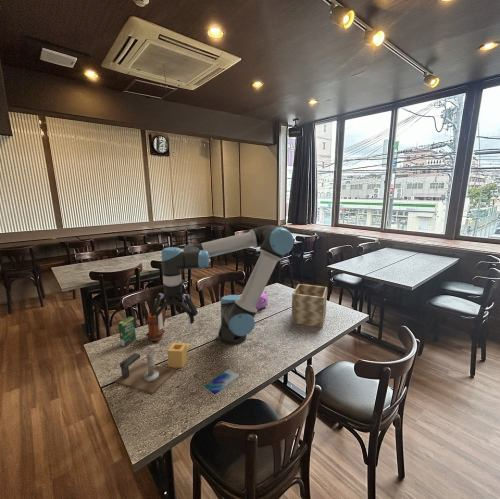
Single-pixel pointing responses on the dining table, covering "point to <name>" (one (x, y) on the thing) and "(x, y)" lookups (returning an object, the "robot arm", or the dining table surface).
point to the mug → (155, 326)
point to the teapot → (262, 301)
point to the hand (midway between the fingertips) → (175, 329)
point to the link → (178, 354)
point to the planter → (309, 305)
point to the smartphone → (221, 381)
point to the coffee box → (127, 331)
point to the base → (143, 374)
